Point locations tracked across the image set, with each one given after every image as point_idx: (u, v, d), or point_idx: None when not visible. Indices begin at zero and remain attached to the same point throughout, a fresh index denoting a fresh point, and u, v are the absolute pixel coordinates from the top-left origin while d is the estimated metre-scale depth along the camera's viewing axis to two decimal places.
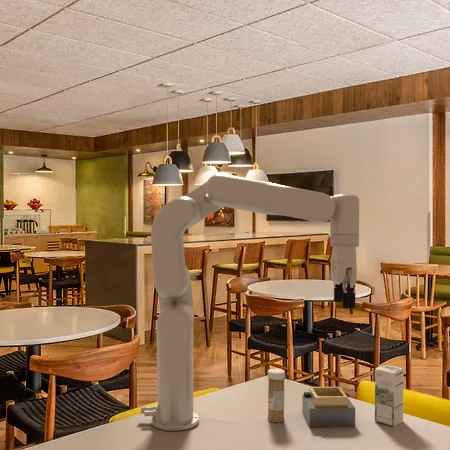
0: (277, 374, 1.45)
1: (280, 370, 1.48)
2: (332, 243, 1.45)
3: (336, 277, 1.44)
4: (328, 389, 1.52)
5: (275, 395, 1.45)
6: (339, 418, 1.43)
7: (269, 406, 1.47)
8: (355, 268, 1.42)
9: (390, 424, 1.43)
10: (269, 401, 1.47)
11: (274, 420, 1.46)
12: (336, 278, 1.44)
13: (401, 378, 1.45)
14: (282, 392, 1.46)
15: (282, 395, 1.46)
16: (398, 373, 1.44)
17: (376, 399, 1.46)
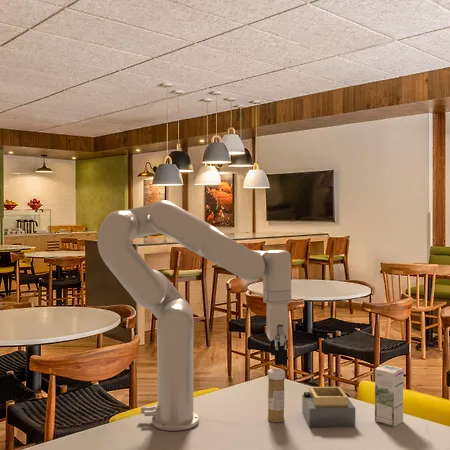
0: (277, 374, 1.45)
1: (280, 370, 1.48)
2: (264, 299, 1.46)
3: (268, 333, 1.44)
4: (328, 389, 1.52)
5: (275, 395, 1.45)
6: (339, 418, 1.43)
7: (269, 406, 1.47)
8: (286, 325, 1.42)
9: (390, 424, 1.43)
10: (269, 401, 1.47)
11: (274, 420, 1.46)
12: (268, 334, 1.44)
13: (401, 378, 1.45)
14: (282, 392, 1.46)
15: (282, 395, 1.46)
16: (398, 373, 1.44)
17: (376, 399, 1.46)
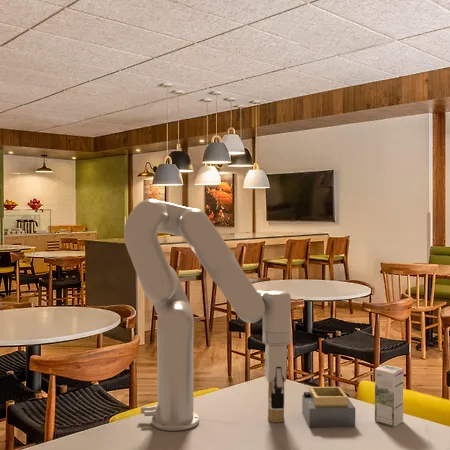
0: None
1: None
2: (263, 340, 1.46)
3: (267, 375, 1.45)
4: (328, 389, 1.52)
5: None
6: (339, 418, 1.43)
7: (269, 406, 1.47)
8: (285, 367, 1.43)
9: (390, 424, 1.43)
10: (269, 401, 1.47)
11: (274, 420, 1.46)
12: (267, 376, 1.45)
13: (401, 378, 1.45)
14: None
15: None
16: (398, 373, 1.44)
17: (376, 399, 1.46)
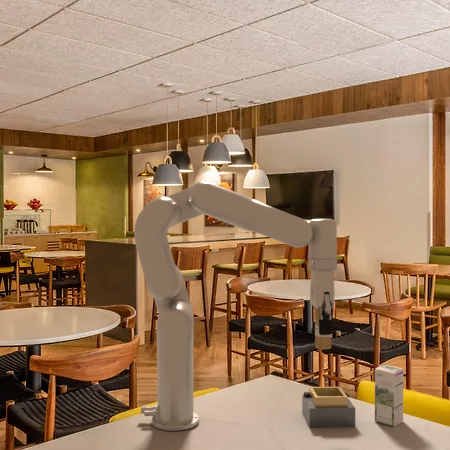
0: None
1: None
2: (310, 267, 1.46)
3: (314, 301, 1.45)
4: (328, 389, 1.52)
5: None
6: (339, 418, 1.43)
7: (316, 333, 1.47)
8: (333, 292, 1.43)
9: (390, 424, 1.43)
10: (316, 328, 1.47)
11: (322, 347, 1.46)
12: (314, 302, 1.45)
13: (401, 378, 1.45)
14: None
15: None
16: (398, 373, 1.44)
17: (376, 399, 1.46)
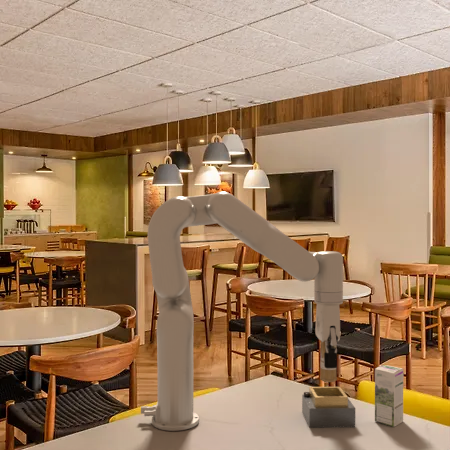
0: None
1: None
2: (316, 300, 1.46)
3: (320, 334, 1.45)
4: (328, 389, 1.52)
5: None
6: (339, 418, 1.43)
7: (322, 366, 1.47)
8: (338, 326, 1.43)
9: (390, 424, 1.43)
10: (322, 361, 1.47)
11: (327, 380, 1.46)
12: (320, 335, 1.45)
13: (401, 378, 1.45)
14: None
15: None
16: (398, 373, 1.44)
17: (376, 399, 1.46)
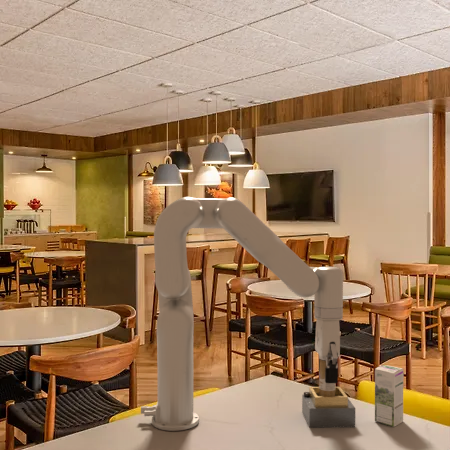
0: (329, 355, 1.46)
1: None
2: (316, 315, 1.46)
3: (320, 350, 1.45)
4: None
5: None
6: (339, 418, 1.43)
7: (320, 387, 1.47)
8: (338, 342, 1.43)
9: (390, 424, 1.43)
10: (320, 382, 1.47)
11: None
12: (320, 351, 1.45)
13: (401, 378, 1.45)
14: None
15: None
16: (398, 373, 1.44)
17: (376, 399, 1.46)
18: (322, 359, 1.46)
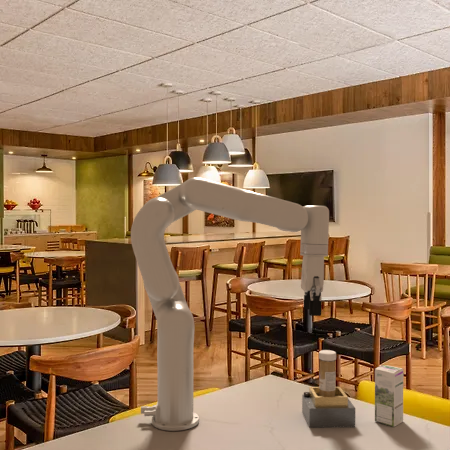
0: (329, 355, 1.45)
1: (331, 351, 1.48)
2: (301, 252, 1.50)
3: (304, 285, 1.48)
4: None
5: (327, 376, 1.46)
6: (339, 418, 1.43)
7: (320, 387, 1.47)
8: (322, 277, 1.46)
9: (390, 424, 1.43)
10: (320, 382, 1.47)
11: None
12: (304, 286, 1.48)
13: (401, 378, 1.45)
14: (334, 373, 1.46)
15: (334, 376, 1.46)
16: (398, 373, 1.44)
17: (376, 399, 1.46)
18: (322, 359, 1.46)
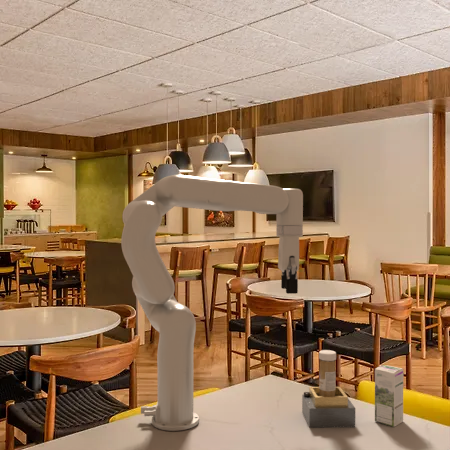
0: (329, 355, 1.45)
1: (331, 351, 1.48)
2: (277, 233, 1.56)
3: (281, 265, 1.55)
4: None
5: (327, 376, 1.46)
6: (339, 418, 1.43)
7: (321, 387, 1.47)
8: (297, 256, 1.53)
9: (390, 424, 1.43)
10: (321, 382, 1.47)
11: None
12: (281, 266, 1.55)
13: (401, 378, 1.45)
14: (334, 373, 1.46)
15: (334, 376, 1.46)
16: (398, 373, 1.44)
17: (376, 399, 1.46)
18: (322, 359, 1.46)
